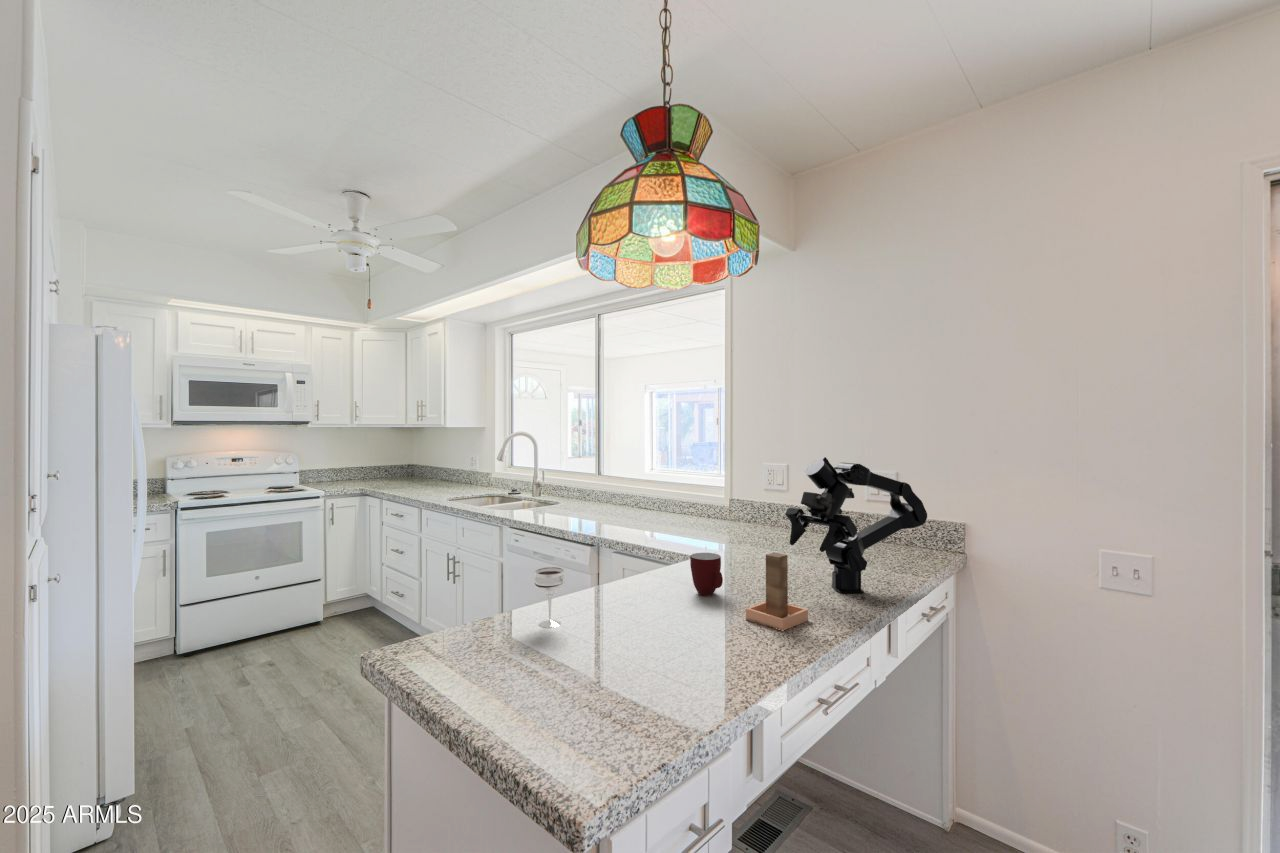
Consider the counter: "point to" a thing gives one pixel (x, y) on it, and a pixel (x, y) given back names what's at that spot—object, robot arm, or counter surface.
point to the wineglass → (549, 588)
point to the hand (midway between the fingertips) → (805, 547)
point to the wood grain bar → (777, 584)
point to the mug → (706, 572)
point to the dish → (760, 616)
